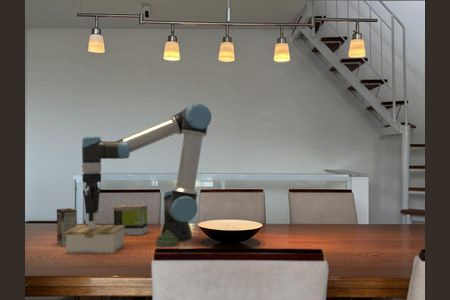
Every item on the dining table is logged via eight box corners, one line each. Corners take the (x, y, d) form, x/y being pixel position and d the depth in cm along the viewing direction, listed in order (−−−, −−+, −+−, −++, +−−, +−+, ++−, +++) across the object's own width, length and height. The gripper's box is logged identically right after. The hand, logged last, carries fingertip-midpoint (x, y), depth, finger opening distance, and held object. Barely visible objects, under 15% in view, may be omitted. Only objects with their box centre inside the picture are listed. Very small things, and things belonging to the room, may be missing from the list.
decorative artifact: (155, 243, 178) (157, 248, 168) (155, 228, 178) (157, 232, 168) (176, 241, 180) (179, 246, 171) (176, 226, 180) (179, 230, 171)
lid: (125, 229, 174) (125, 224, 174) (113, 237, 158) (113, 232, 158) (80, 229, 175) (80, 225, 175) (63, 237, 159) (63, 232, 159)
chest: (123, 245, 173) (123, 227, 173) (113, 253, 159) (112, 234, 159) (80, 245, 174) (80, 228, 174) (66, 253, 160) (66, 234, 160)
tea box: (148, 231, 204) (147, 204, 205) (142, 235, 194) (141, 206, 195) (120, 231, 206) (120, 204, 206) (113, 235, 196) (113, 206, 196)
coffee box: (56, 243, 179) (56, 209, 179) (70, 241, 183) (70, 207, 183) (62, 247, 172) (62, 211, 172) (77, 244, 176) (76, 209, 176)
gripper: (89, 172, 170) (89, 225, 169) (76, 173, 157) (76, 231, 156) (106, 172, 169) (106, 225, 169) (94, 173, 156) (94, 231, 156)
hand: (92, 228), depth 163 cm, fingers closed
